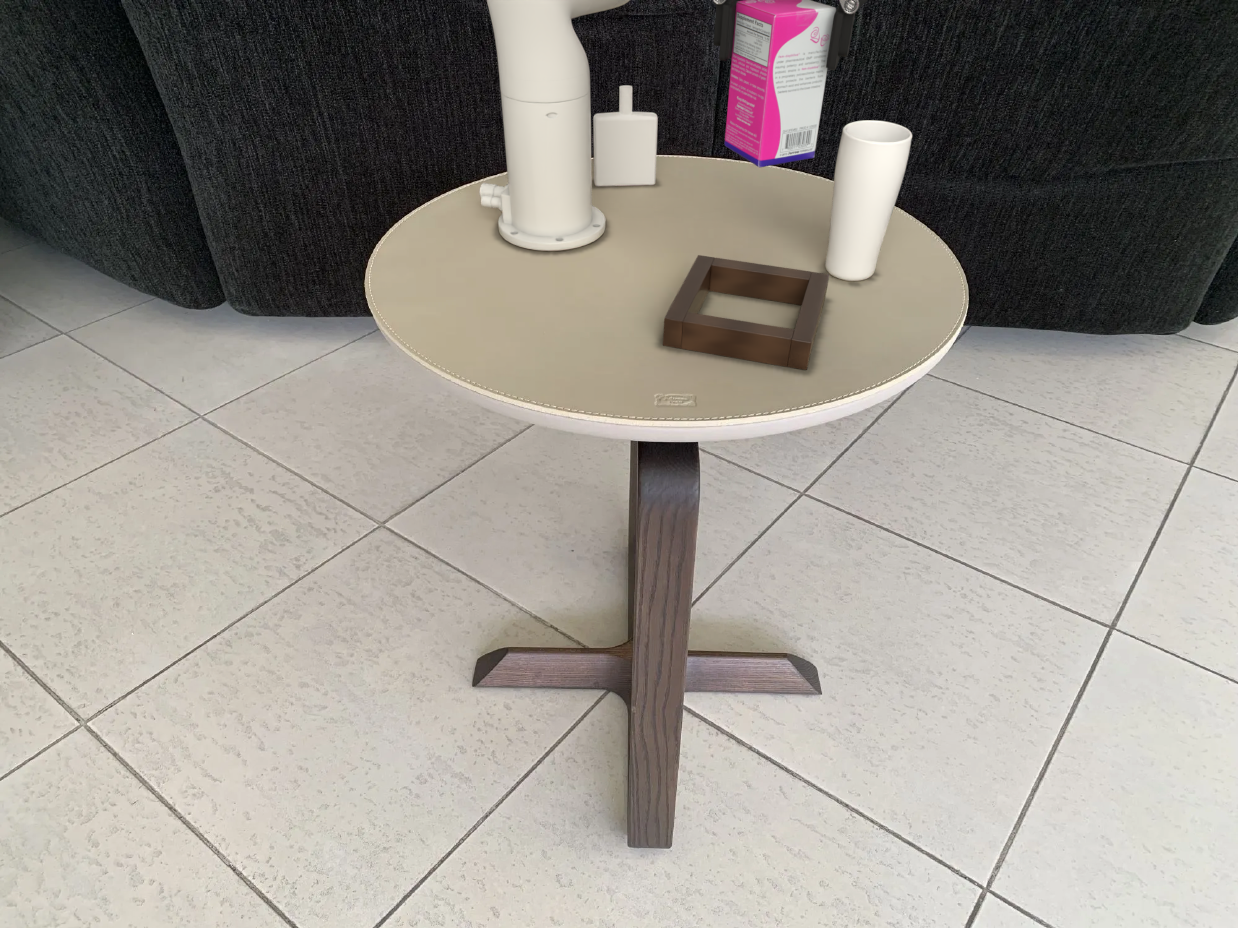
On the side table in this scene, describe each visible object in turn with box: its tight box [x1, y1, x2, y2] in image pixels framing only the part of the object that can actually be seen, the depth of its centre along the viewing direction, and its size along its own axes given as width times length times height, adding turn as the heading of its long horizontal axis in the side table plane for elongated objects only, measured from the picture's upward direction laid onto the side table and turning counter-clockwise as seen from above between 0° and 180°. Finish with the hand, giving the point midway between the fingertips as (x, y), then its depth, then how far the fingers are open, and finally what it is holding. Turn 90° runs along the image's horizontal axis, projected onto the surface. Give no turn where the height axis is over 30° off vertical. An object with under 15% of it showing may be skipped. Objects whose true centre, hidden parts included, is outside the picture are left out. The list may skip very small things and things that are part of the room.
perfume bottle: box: [592, 84, 659, 187], centre depth 105 cm, size 8×2×12 cm, turn 95°
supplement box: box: [724, 0, 837, 168], centre depth 68 cm, size 6×6×12 cm
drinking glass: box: [824, 119, 913, 282], centre depth 86 cm, size 7×7×15 cm
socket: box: [662, 254, 830, 371], centre depth 81 cm, size 14×14×3 cm
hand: (779, 60), depth 67 cm, fingers closed on supplement box, 8 cm apart
